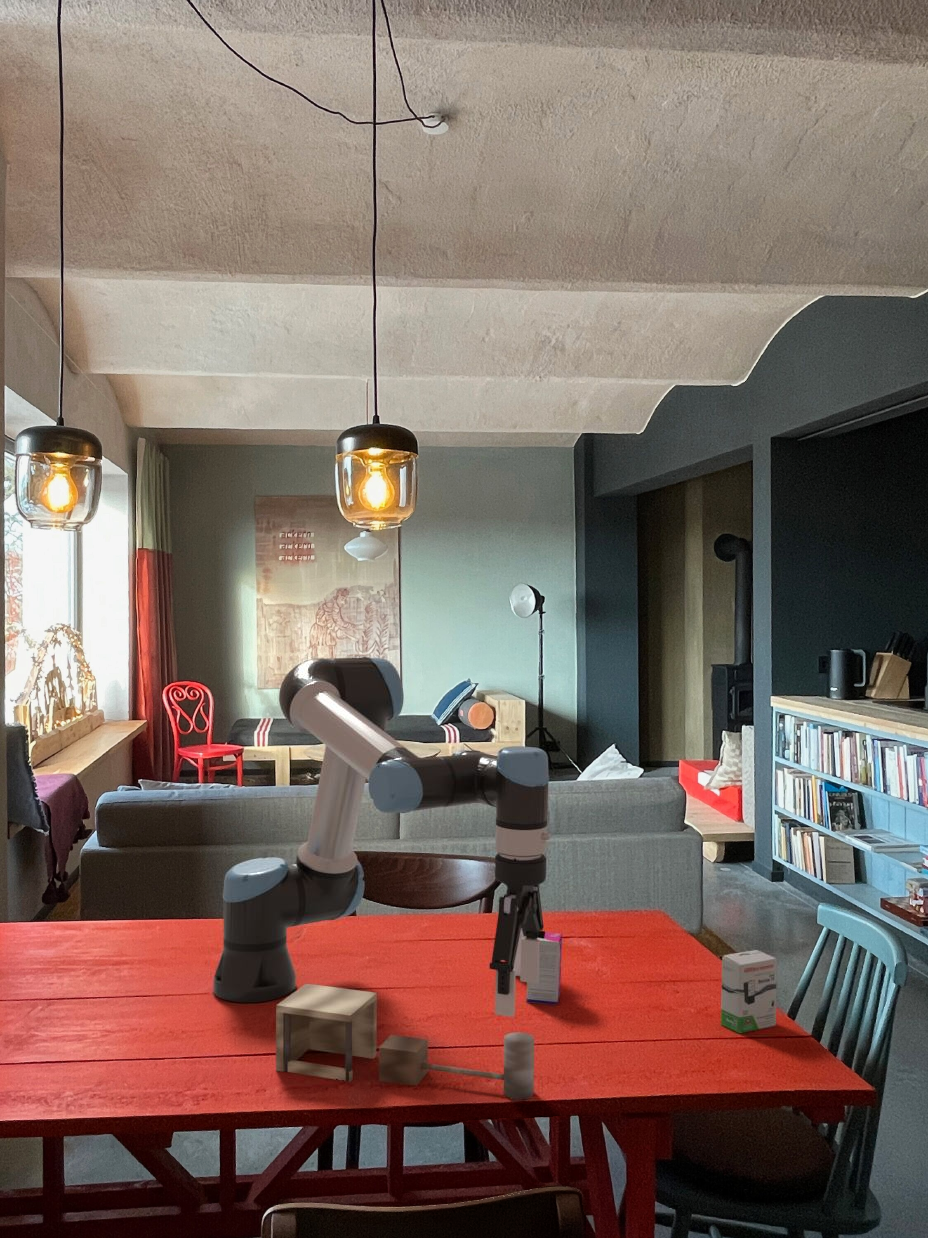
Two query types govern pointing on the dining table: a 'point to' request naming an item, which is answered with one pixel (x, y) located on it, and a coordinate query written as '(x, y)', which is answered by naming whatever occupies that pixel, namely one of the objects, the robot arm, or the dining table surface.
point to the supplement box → (547, 971)
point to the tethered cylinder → (410, 1064)
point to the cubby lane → (325, 1028)
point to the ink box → (748, 991)
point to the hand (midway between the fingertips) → (517, 998)
